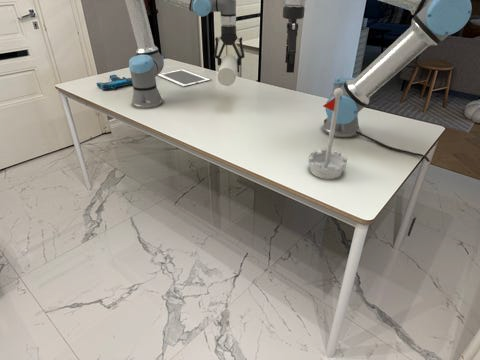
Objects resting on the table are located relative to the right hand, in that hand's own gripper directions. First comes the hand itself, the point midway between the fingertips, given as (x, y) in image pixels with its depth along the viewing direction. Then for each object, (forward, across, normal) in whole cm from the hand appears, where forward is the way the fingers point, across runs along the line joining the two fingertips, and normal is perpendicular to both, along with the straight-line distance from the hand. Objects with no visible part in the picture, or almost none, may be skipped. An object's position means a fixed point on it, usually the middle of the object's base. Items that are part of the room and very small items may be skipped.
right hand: (289, 67), depth 131 cm
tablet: (+29, -80, -62) cm, 105 cm away
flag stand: (+29, +29, +14) cm, 43 cm away
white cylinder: (+15, -37, -28) cm, 49 cm away
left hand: (+15, -47, -29) cm, 57 cm away
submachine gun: (+29, -68, -96) cm, 121 cm away
